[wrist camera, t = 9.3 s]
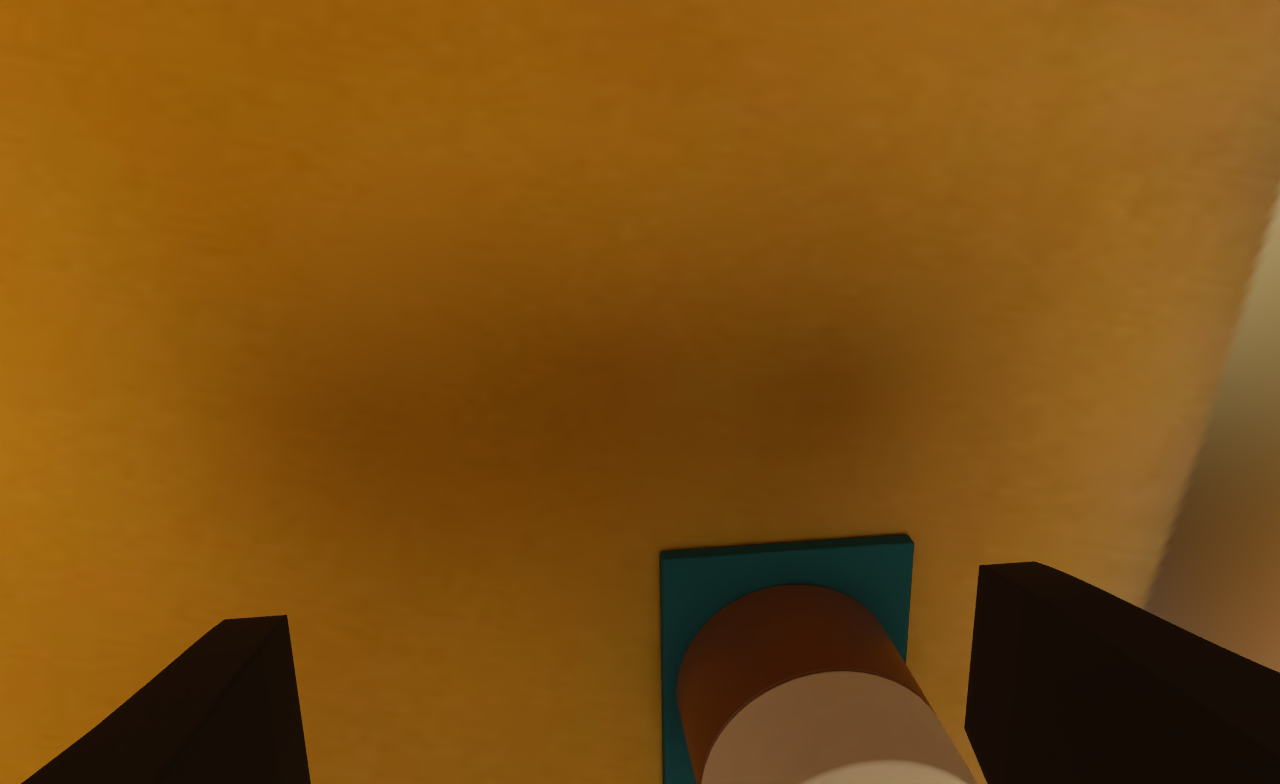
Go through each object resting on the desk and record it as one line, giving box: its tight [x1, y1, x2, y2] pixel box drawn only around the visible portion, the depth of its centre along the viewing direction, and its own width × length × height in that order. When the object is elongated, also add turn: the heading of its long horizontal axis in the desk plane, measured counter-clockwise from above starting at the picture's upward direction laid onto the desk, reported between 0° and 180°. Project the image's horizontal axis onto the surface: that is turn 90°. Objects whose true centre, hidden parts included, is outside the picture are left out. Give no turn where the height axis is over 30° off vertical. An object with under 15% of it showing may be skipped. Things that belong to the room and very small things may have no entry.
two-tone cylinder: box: [676, 584, 977, 784], centre depth 20 cm, size 4×4×6 cm
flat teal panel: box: [660, 535, 914, 784], centre depth 23 cm, size 6×5×1 cm
